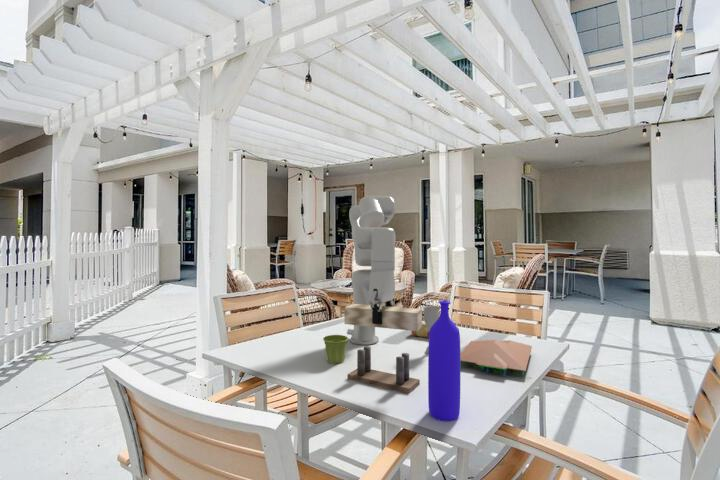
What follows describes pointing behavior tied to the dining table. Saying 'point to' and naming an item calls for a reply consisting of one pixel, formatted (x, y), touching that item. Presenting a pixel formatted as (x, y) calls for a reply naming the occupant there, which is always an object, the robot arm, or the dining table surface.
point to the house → (497, 355)
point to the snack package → (422, 331)
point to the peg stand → (384, 373)
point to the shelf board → (384, 317)
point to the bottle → (444, 367)
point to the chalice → (430, 317)
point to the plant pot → (335, 348)
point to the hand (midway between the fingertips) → (383, 321)
